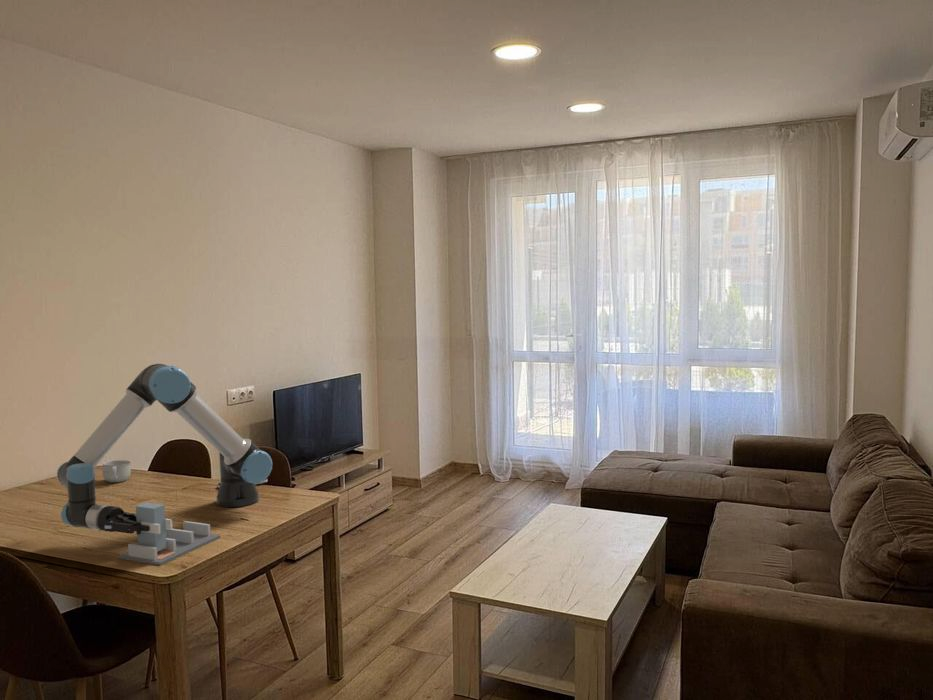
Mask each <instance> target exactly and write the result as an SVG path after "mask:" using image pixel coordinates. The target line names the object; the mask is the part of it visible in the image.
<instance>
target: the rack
mask: <svg viewBox="0 0 933 700" xmlns="http://www.w3.org/2000/svg"><path fill="white" fill-rule="evenodd" d="M182 524H183V525H182V528H183V529H179V528H178V529H177V528H172V529H167V528H166V548H164V549H162V550H160V551H157V547H151V546H144V545H138V543H128V545H127V548H128V551H127V552H123V553H122V554H119V555H118V559H120V560H126V561H131V562H139V563H143V564H144V563H145V564H150V565H154V566H155V565H156V566H162V565H165V564H166V563H169V562H171V561H174V560H176V559H178V558H179V557H182V556H184V555H186V554H188V553H191V552H193V551H195V550H197V549H199V548H202V547H203V546H205V545H207V544H210V543H211V542H215V541H216V540H219V539H221V535H220V534H216V533H215V534H214V533H211V524H210V523H209V524H208V523H204V522H195V521H189V520H188V521H187V520H184V521H182Z"/></svg>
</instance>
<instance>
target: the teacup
mask: <svg viewBox="0 0 933 700" xmlns="http://www.w3.org/2000/svg"><path fill="white" fill-rule="evenodd" d="M101 465H102V477H103V479H104V480H106V481H107V482H109V483H122V482H125V481H127V479H128V478H130V476H131V468H132V467H131V466H132V461H130V460H125V459H123V460H122V459H115V460H108V461H104V462H102V464H101Z"/></svg>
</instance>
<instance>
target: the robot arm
mask: <svg viewBox="0 0 933 700" xmlns="http://www.w3.org/2000/svg"><path fill="white" fill-rule="evenodd" d="M197 390H198V388H197V386H195V385H194V383H193V382H192V381H191V379H190V378H189V376H188V374H187V373H186V372H185V371H184V370H183V369H181V368H179V367H177V366H174V365H166V364H163V363H155V364H150V365H149V366H147V367H145V368H144V369H143V370H141V371H140V372H139V374H138V375H137V376H136V377H135V378H134V380H133V381H132V382H131V383H130V384H129V386H128V387H127V388H126V389H125V393H126V394H125V395H124V396H123V398H122V399H120V401H119V402H118V403H117V404H116V406H114V408H113V409H112V410H111V411H110V413H108V415H107V416H106V417H105V419H104V420H103V421H102V422H101V423H100V424H99V426H98V427H97V428H96V429H95V430H94V431H93V432H92V434H90V435H89V437H88V438H87V439H86V441H84V443H83V444H82V445H81V446H80V448H79V449H78V450H77V451H76V452H75V453H74V455H72V456H71V458H70V459H69V460H68V461H65V462H64V463H62V464H60V466H58V468H57V471H56V477H57V479H58V482H60V484H61V485H63V486H64V487H65V488H66V489H67V497H68V502H67V503H65V504H64V506H63V507H62V510H61V512H60V518H61V521H62V522H63V523H64V524H65V525H69V526H71V527H74V528H83V529H90V530H97V531H98V532H101V531H102V532H103V531H104V532H109V533H113V532H114V533H115V532H116V533H123V534H124V533H125V534H131V535H132V534H134V533H136V535H137V534H141V531H142V532H148V533H155V534H160V533H161V531H160V524H155V523H148V522H141V524H140V523H139V522H137V519H136V513H133V512H128V511H124V509H123V508H121V507H120V506H113V505H108V504H100V503H97V502H96V498H97V497H96V480H95V479H96V478H95V477H96V473H95V468H96V467H97V466H98V465H99V463H100V462H101V460H103V458H104V457H105V456H106V455H107V453H109V451H110V450H111V449H112V448H113V447H114V446H115V444H116V443H117V442H118V441H119V440H120V438H121V437H122V436H123V434H124V433H125V432H126V431H127V430H128V429H129V427H130V426H131V425H132V424H133V423H134V421H136V419H137V418H138V417H139V416H140V415H141V413H142V412H143V411H144V410H145V409H146V408H151V406H152V405H153V404H154V403H155V402H156V401H157V402H158V403H160V404H161V406H163V407H164V408H165V409H166V410H167V411H168V412H169V413H177V414H178V415H179V416H181V418H182V419H184V420H185V421H186V423H188V424H189V425H190V426H191V427H192V428H193V429H194V430H195V431H196V432H197V433H198V434H199V435H201V436H202V437H203V438H204V439H205V440H206V441H207V442H208V443H209V445H212V447H214V449H216V450H217V451H218V453H219V470H220V471H219V473H220V483H221V484H220V487H218V491H217V495H216V505H217V506H219V507H224V508H237V507H239V508H240V507H245V506H250V505H253V504H256V503H257V502H258V501H260V494H259V492H258V490H257V489H258V488H257V486H255V483H260V482H262V481H263V480H265V479H266V478H267V479H268V477H269V476H270V474H271V472H272V470H273V459H272V457H271V456H270V454H269V453H268V452H266V451H264V450H261V449H260V448H259V446H257V445H256V444H255V443H254V442H253V441H252V439H250V438H243V437H242V436H240V434H239V433H237V432H236V431H235V430H234V429H233V428H232V427H231V426H230V424H228V423H227V422H226V421H225V420H224V419H223V418H222V417H221V416H220V415H219V414H218V413H216V411H215V410H213V408H212V407H210V405H209V404H207V403H206V402H205V401H204V400H203V398H201V397H200V395H199V394H197ZM165 528H166V529H174V527H173V519H172V518H165Z"/></svg>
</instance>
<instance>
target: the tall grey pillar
mask: <svg viewBox="0 0 933 700" xmlns="http://www.w3.org/2000/svg"><path fill="white" fill-rule="evenodd" d="M165 510H166V509H165V504H160V503H151V502H144V503H141V504H139V505H136V506H135V514H136V519H137V522H139V523H140V524H141V522H148V523H155V524H160V531H161V533H160V534H155V533H148V532H142V531H141V534H137V533H136V535H137V536H136V537H137V544H138V545H144V546H151V547H157V551H160V550H162V549H164V548H166V529H167V528H165V519H166V513H165V512H166V511H165Z"/></svg>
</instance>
